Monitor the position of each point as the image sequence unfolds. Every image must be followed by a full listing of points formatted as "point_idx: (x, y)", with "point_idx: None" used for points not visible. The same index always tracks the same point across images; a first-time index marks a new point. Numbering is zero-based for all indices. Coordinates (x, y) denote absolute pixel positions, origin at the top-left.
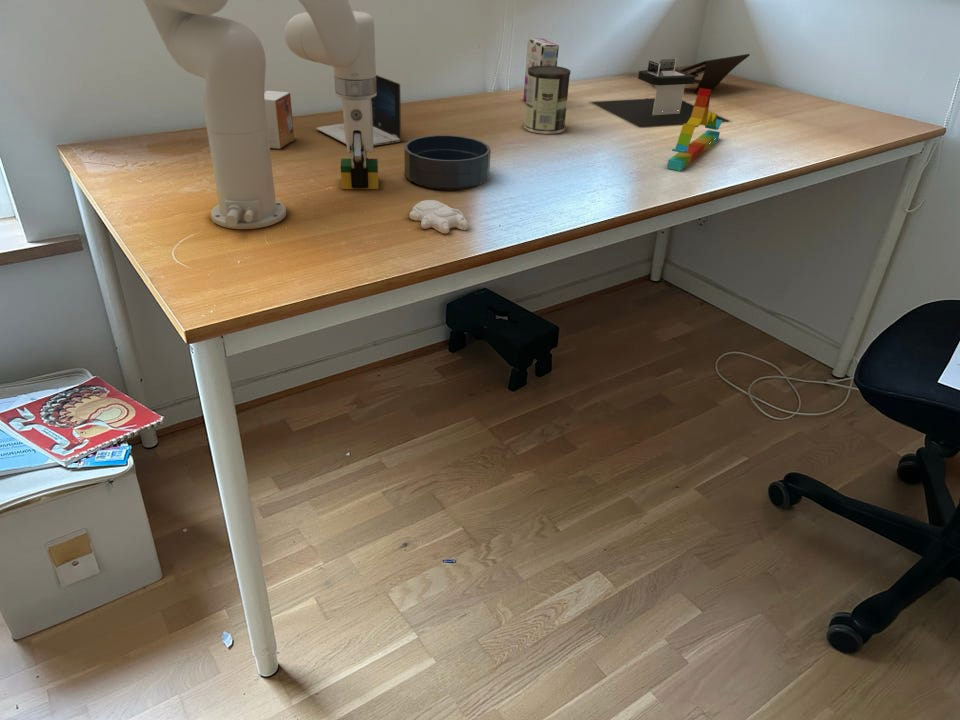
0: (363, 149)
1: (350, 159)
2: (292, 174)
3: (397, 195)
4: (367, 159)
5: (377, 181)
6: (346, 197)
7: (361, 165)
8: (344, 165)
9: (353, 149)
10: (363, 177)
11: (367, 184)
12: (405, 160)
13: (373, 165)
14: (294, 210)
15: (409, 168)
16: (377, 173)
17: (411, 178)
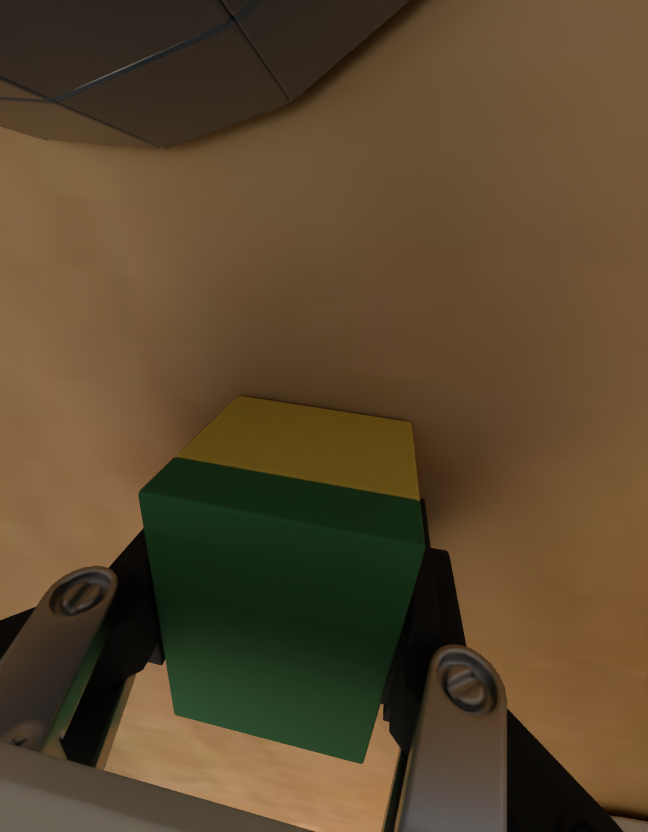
0: (9, 634)
1: (193, 681)
2: (167, 699)
3: (606, 292)
4: (177, 579)
5: (414, 455)
6: (511, 606)
7: (540, 760)
8: (343, 744)
9: (102, 753)
10: (453, 592)
11: (424, 515)
12: (37, 75)
13: (380, 576)
14: (604, 785)
15: (236, 42)
16: (416, 495)
17: (309, 70)
